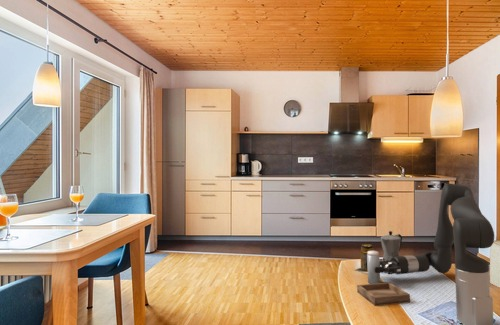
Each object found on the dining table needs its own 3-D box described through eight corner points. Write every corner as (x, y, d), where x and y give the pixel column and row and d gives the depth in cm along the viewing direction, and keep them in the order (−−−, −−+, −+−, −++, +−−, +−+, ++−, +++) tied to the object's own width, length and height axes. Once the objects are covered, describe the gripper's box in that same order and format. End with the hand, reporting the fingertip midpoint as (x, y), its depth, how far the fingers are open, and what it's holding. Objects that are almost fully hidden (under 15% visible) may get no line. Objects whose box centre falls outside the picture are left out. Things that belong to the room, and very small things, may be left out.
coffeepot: (392, 273, 167) (391, 234, 167) (374, 268, 175) (373, 231, 175) (411, 267, 176) (409, 230, 176) (393, 263, 184) (392, 227, 184)
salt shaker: (382, 283, 154) (381, 252, 154) (371, 284, 153) (370, 253, 153) (376, 280, 159) (375, 250, 159) (365, 281, 158) (364, 250, 158)
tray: (410, 302, 133) (409, 294, 133) (374, 305, 131) (374, 297, 131) (389, 289, 147) (389, 282, 147) (357, 292, 145) (357, 285, 145)
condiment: (378, 270, 173) (377, 245, 173) (366, 273, 168) (365, 248, 168) (365, 267, 179) (364, 242, 179) (354, 270, 174) (353, 245, 174)
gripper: (395, 252, 165) (362, 254, 163) (414, 260, 151) (378, 263, 148) (395, 268, 165) (362, 271, 163) (414, 278, 151) (378, 281, 148)
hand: (370, 267), depth 156 cm, fingers open, 8 cm apart
